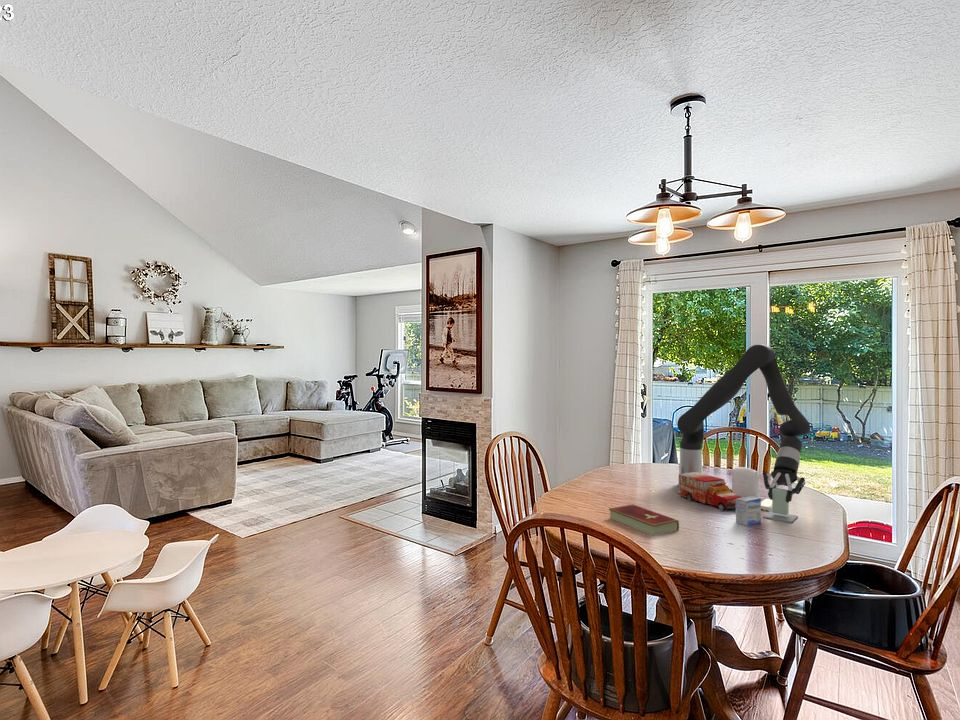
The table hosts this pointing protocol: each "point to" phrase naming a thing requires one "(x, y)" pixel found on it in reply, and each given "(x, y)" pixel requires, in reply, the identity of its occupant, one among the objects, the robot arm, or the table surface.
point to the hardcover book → (644, 519)
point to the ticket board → (766, 504)
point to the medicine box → (748, 510)
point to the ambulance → (707, 490)
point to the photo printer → (745, 482)
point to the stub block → (779, 501)
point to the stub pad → (780, 517)
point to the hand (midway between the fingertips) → (779, 499)
